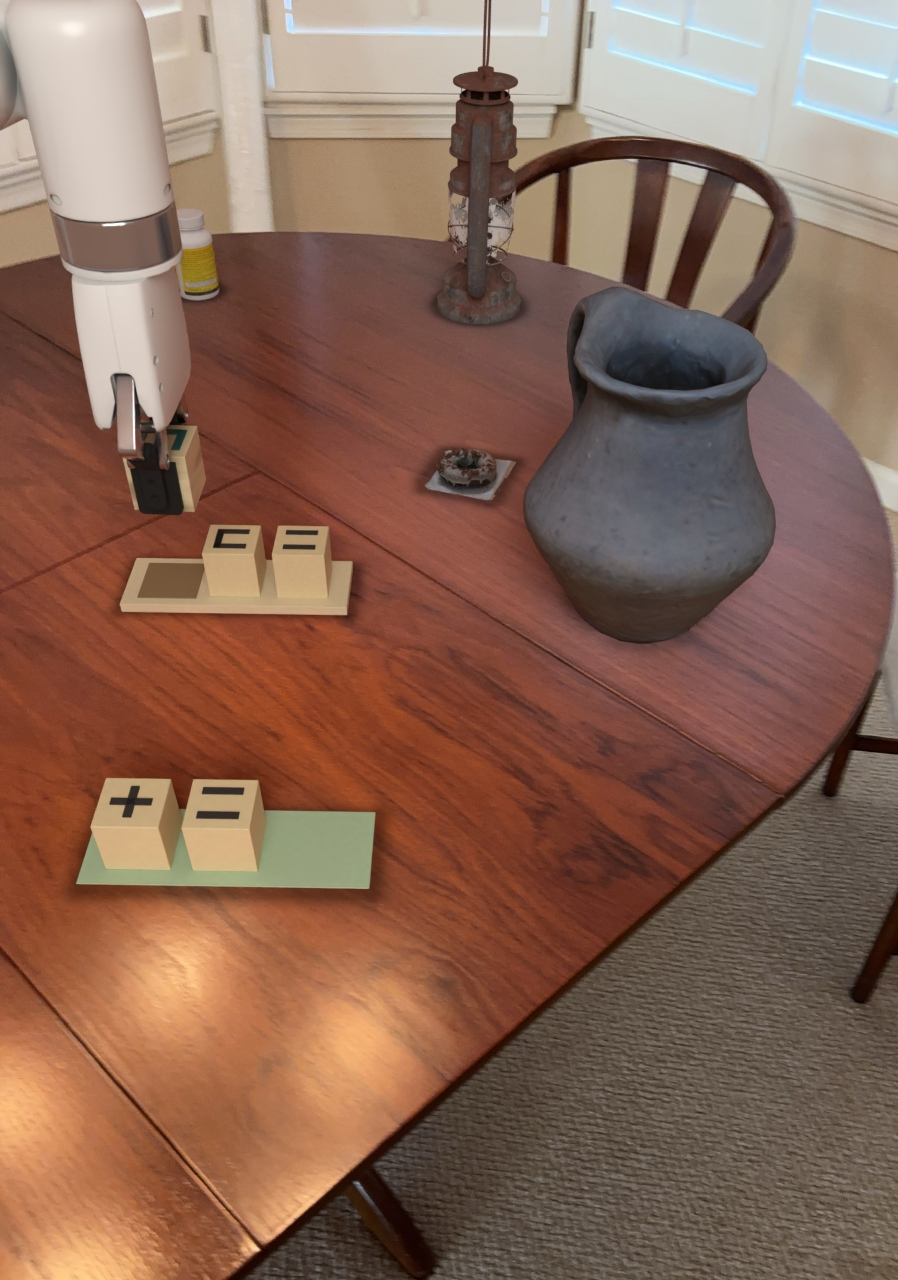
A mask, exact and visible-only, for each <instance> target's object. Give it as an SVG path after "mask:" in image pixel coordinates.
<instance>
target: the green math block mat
mask: <svg viewBox="0 0 898 1280" xmlns="http://www.w3.org/2000/svg"><path fill="white" fill-rule="evenodd" d="M375 824H376V812H375V811H335V810H332V811H331V810H279V809H278V810H277V809H275V810H274V809H273V810H272V809H271V810H270V809H265V807H264V802H263V798H262V792H261V786H260V781H259V779H221V778H220V779H217V778H215V779H214V778H212V779H211V778H193V779H192V783H191V787H190V791H189V795H188V799H187V803H186V808H179V804H178V801H177V797H176V793H175V789H174V785H173V782H172V779H171V778H149V777H148V778H145V777H144V778H143V777H141V778H140V777H139V778H137V777H106V778H105V779H104V783H103V786H102V790H101V793H100V796H99V799H98V801H97V805H96V808H95V810H94V813H93V816H92V820H91V823H90V830H91V835H90V839H89V842H88V845H87V848H86V851H85V854H84V858H83V860H82V863H81V867H80V869H79V873H78V876H77V879H76V882H75V884H76V885H107V886H108V885H111V886H112V885H113V886H115V885H116V886H118V885H119V886H168V887H169V886H170V887H171V886H173V887H176V886H177V887H178V886H179V887H236V888H238V887H239V888H294V889H295V888H299V889H300V888H303V889H304V888H305V889H359V890H360V889H362V890H364V889H366V890H368V889H370V887H371V886H370V885H371V875H372V874H371V872H372V861H373V859H372V858H373V849H374V837H375Z"/></svg>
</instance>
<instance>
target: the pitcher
mask: <svg viewBox="0 0 898 1280" xmlns="http://www.w3.org/2000/svg"><path fill="white" fill-rule="evenodd" d="M566 334H567V335H566V360H567V372H568V382H569V385H570V390H571V397H572V403H573V404H572V420H571V421H570V423H569V425H568V427H567V428H566V429H565V432H563V434H562V435H561V437H560V438H559V440H558V441H557V442H556V443H555V445H554V447H552V449H551V451H550V452H549V453H548V455H547V456H546V458H545V459H544V460H543V462H542V463H541V465H539V467H538V469H537V471H536V472H535V473H534V475H533V476H532V478H531V479H530V481H529V483H528V484H527V487H526V489H525V491H524V493H523V501H522V513H523V520H524V524H525V528H526V529H527V532H528V534H529V535H530V537H531V540H532V541H533V544H534V545H535V547H536V550H537V551H538V552H539V554H540V555H541V557H542V559H543V560H544V561H545V563H546V565H547V566H548V568H549V570H550V571H551V572H552V574H553V576H554V577H555V579H556V581H557V583H558V584H559V586H560V587H561V588H562V589H563V591H564V592H565V594H566V596H567V597H568V599H569V600H570V601H571V603H572V604H573V606H574V608H575V610H576V612H577V614H578V615H579V616H580V617H581V618H582V619H583V620H584V621H586V623H587V624H589V625H590V626H591V627H592V628H593V629H595V631H597V632H598V633H599V634H603V635H605V636H608V637H610V638H612V639H614V640H617V641H619V642H623V643H624V642H625V643H629V644H643V645H645V644H652V643H653V644H654V643H659V642H664V641H668V640H670V639H672V638H675V637H677V636H679V635H682V634H684V633H687V632H688V631H689V630H691V629H692V628H693V627H694V626H696V624H698V622H700V621H701V620H702V619H703V618H705V617H706V616H708V615H710V614H711V613H712V612H713V611H714V610H715V609H716V608H717V607H718V606H719V605H720V604H721V603H722V602H723V601H725V600H726V599H727V598H728V597H729V596H731V595H732V594H733V593H734V592H735V591H736V590H737V589H738V588H740V587H741V586H742V585H743V584H744V583H746V581H747V580H749V579H750V578H751V577H753V576H754V575H755V573H756V572H757V571H758V570H759V568H760V567H761V566H762V565H763V563H764V562H765V561H766V559H767V558H768V556H769V554H770V551H771V549H772V547H773V545H774V543H775V536H776V530H777V519H776V508H775V504H774V502H773V499H772V496H771V495H770V493H769V491H768V489H767V486H766V484H765V482H764V480H763V477H762V475H761V472H760V470H759V468H758V465H757V462H756V460H755V457H754V451H753V447H752V441H751V437H750V430H749V429H750V427H749V420H748V419H749V418H748V417H749V416H748V415H749V414H748V398H749V394H750V392H751V391H752V389H753V388H754V387H755V386H756V385H757V384H759V382H760V381H761V379H762V377H763V376H764V375H765V373H766V371H767V370H768V364H769V363H768V354H767V352H766V350H765V348H764V345H763V344H762V342H760V341H759V340H758V338H756V336H755V335H753V333H752V332H751V331H750V330H748V329H746V328H745V327H743V326H742V325H739V324H737V323H734V322H733V321H731V320H728V319H726V318H723V317H721V316H718V315H715V314H712V313H710V312H707V311H704V310H699V309H682V308H677V307H672V306H670V305H668V304H665V303H662V302H661V301H660V302H659V301H657V300H655V299H652V298H649V297H648V296H646V295H644V294H642V293H641V292H638V291H637V290H634V289H632V288H630V287H625V286H610V287H608V288H605V289H602V290H599V291H597V292H595V293H592V294H589V295H587V296H585V297H583V298H581V299H580V300H579V301H578V302H577V304H576V305H575V307H574V308H573V310H572V312H571V315H570V318H569V323H568V329H567V333H566Z"/></svg>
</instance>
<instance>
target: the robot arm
mask: <svg viewBox="0 0 898 1280" xmlns="http://www.w3.org/2000/svg"><path fill="white" fill-rule="evenodd" d="M148 30H149V29H148V25H147V20H146V17H145V14H144V12H143V9H142V8H141V5H140V4H139V2H138V1H137V0H0V132H1V131H3V130H5V129H7V128H10V127H11V126H14V125H15V124H17V123H19V122H21V121H23V120H26V121H27V122H28V126H29V131H30V135H31V140H32V143H33V147H34V152H35V155H36V159H37V162H38V168H39V171H40V175H41V179H42V183H43V188H44V192H45V196H46V200H47V204H48V208H49V213H50V217H51V221H52V226H53V229H54V233H55V238H56V242H57V247H58V251H59V254H60V259H61V260H60V261H61V263H62V266H63V268H64V269H65V270H66V271H67V272H69V273H70V274H72V275H71V290H72V301H73V302H72V303H73V312H74V320H75V326H76V333H77V339H78V345H79V351H80V357H81V362H82V366H83V367H82V368H83V372H84V377H85V383H86V387H87V393H88V397H89V402H90V403H89V404H90V407H91V412H92V416H93V420H94V423H95V425H96V427H97V428H98V429H99V430H101V431H108V430H109V429H111V428H112V427H113V425H114V423H115V421H116V434H117V435H116V437H117V453H118V456H119V457H121V458H122V459H123V458H125V459H126V460H127V465H128V468H129V469H130V472H131V476H132V481H133V485H134V490H135V494H136V499H137V503H138V507H139V510H138V511H139V512H140V513H141V514H144V515H160V516H161V515H162V516H165V515H166V516H180V515H182V514H183V513H184V512H183V509H184V505H183V500H182V495H181V489H180V484H179V479H178V473H177V468H176V463H175V462H170V456H169V448H168V439H167V431H166V427H167V426H168V425H183V424H187V425H188V426H191V424H188V423H189V419H190V413H189V412H190V411H189V407H188V404H187V400H186V396H185V390H186V387H187V386H188V383H189V380H190V378H191V371H192V359H191V349H190V340H189V333H188V328H187V322H186V317H185V316H186V315H185V311H184V305H183V301H182V297H181V296H180V291H179V286H178V281H177V277H176V272H175V266H177V265H178V264H179V263H180V262H181V260H182V258H183V248H182V242H181V236H180V230H179V223H178V217H177V211H176V210H177V204H176V199H175V194H174V188H173V182H172V175H171V170H170V162H169V155H168V149H167V148H168V147H167V142H166V136H165V135H166V134H165V129H164V123H163V116H162V110H161V105H160V97H159V92H158V91H159V90H158V85H157V79H156V73H155V66H154V60H153V54H152V47H151V46H152V45H151V40H150V35H149V31H148ZM141 415H146V416H147V418H148V419H141ZM141 433H155V441H156V447H155V446H154V445H153V444H152V443H145V442H144V441H143V440H142V437H141Z"/></svg>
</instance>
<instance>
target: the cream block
mask: <svg viewBox="0 0 898 1280" xmlns="http://www.w3.org/2000/svg"><path fill="white" fill-rule="evenodd" d="M188 425H189V424H182V425H168V426H167V427H166V431H167V439H168V448H169V456H170V462H175V463H176V468H177V473H178V479H179V484H180V489H181V495H182V500H183V505H184V509H183V512H182V513H195V512H196V509H197V507H198V504H199V502H200V498H201V495H202V493H203V490H204V487H205V484H206V482H207V477H206V471H205V465H204V459H203V454H202V453H203V452H202V447H201V442H200V440H201V439H200V435H199V428H198V425H190V426H188ZM141 437H142V440H143V441H144V442H145V443H152V444H153V445H154V446H155V447H156V441H155V433H141ZM122 461H123V466H124V470H125V475H126V480H127V483H128V488H129V491H130V496H131V500H132V501H131V502H132V505H133V509H134V511H139V507H138V503H137V499H136V494H135V490H134V485H133V481H132V476H131V472H130V469H129V468H128V465H127V460H126V459H125V458H123V457H122Z"/></svg>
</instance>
